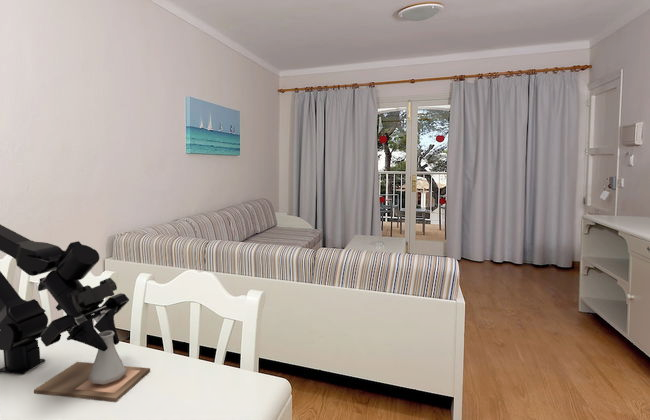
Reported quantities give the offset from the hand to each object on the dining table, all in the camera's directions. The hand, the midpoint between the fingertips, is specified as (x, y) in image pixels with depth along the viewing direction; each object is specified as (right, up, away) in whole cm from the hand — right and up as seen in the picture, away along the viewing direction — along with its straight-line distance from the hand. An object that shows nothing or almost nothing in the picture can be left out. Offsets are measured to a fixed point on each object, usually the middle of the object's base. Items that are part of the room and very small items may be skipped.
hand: (112, 346), depth 85 cm
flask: (-2, -7, +1) cm, 7 cm away
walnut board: (-5, -9, +2) cm, 10 cm away
